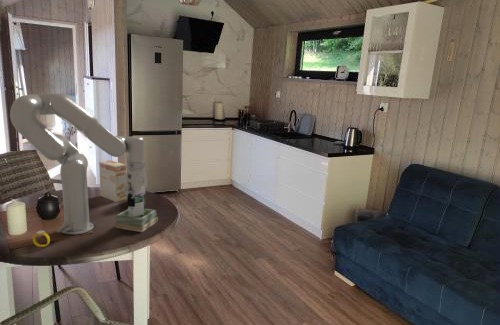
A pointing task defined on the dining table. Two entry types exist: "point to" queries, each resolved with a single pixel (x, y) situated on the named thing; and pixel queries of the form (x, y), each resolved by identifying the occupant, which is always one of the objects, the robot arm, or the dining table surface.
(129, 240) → the dining table surface
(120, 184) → the coffeecake box
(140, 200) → the syrup box
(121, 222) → the socket stand
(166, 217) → the dining table surface
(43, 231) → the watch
